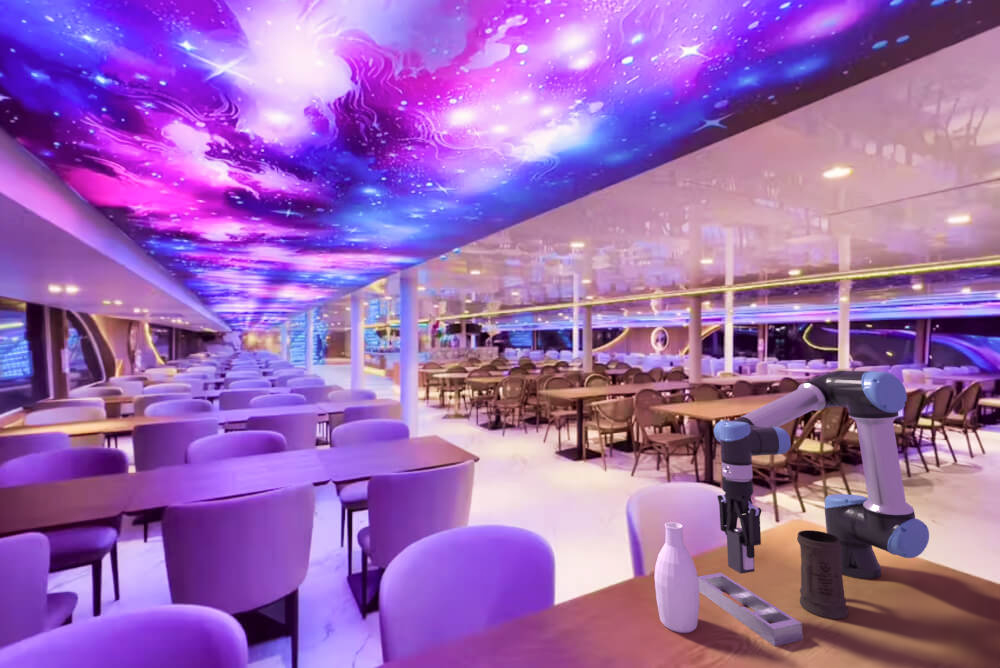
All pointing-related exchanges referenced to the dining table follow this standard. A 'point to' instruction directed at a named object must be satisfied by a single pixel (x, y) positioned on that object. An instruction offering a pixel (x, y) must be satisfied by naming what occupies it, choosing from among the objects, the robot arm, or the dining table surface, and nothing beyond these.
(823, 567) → the beer stein
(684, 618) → the bottle
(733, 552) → the square peg with dome
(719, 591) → the frame with square openings
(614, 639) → the dining table surface
